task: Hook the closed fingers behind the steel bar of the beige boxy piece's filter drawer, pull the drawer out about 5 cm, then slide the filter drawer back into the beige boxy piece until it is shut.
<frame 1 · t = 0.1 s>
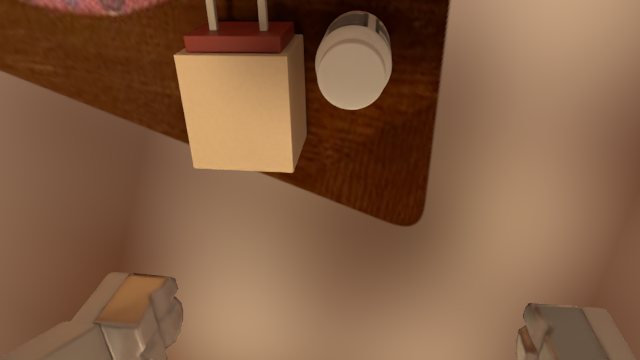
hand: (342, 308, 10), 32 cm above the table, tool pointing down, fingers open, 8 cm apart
filter drawer: (244, 52, 36), point 4 cm above the table, slide at 0.0 cm, touching beige boxy piece
pill bottle: (357, 43, 38), on the table
beige boxy piece: (259, 86, 41), on the table
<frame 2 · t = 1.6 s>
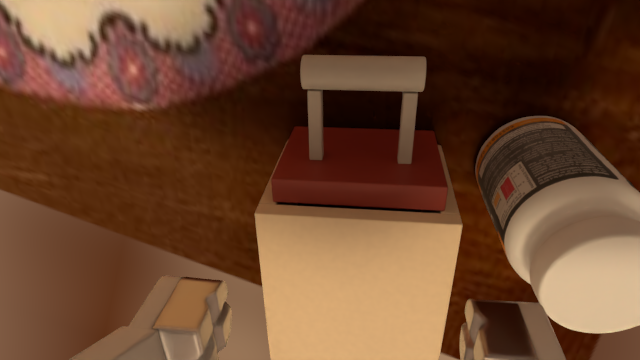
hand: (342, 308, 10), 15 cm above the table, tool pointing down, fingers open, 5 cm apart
filter drawer: (359, 186, 22), point 4 cm above the table, slide at 0.0 cm, touching beige boxy piece
pill bottle: (526, 158, 24), on the table
beige boxy piece: (360, 212, 27), on the table
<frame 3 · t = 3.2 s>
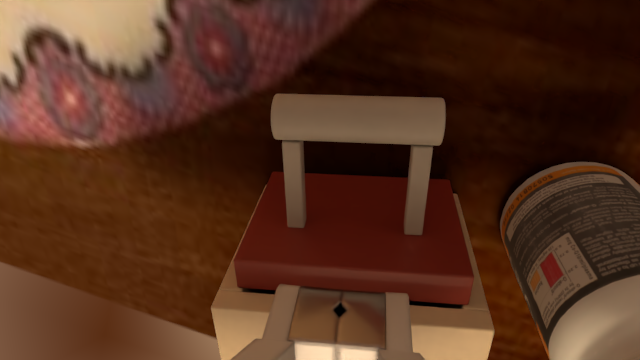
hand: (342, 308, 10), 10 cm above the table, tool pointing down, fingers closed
filter drawer: (354, 255, 17), point 4 cm above the table, slide at 0.0 cm, touching beige boxy piece
pill bottle: (564, 211, 19), on the table
beige boxy piece: (356, 269, 22), on the table
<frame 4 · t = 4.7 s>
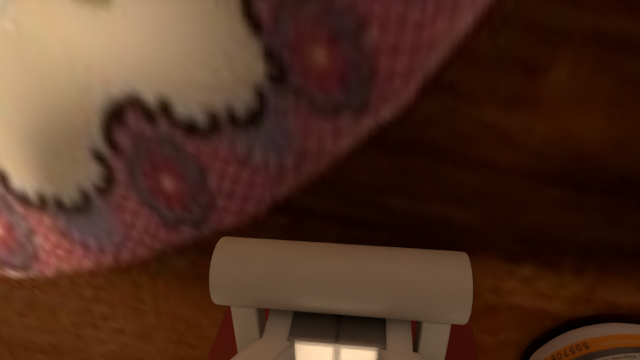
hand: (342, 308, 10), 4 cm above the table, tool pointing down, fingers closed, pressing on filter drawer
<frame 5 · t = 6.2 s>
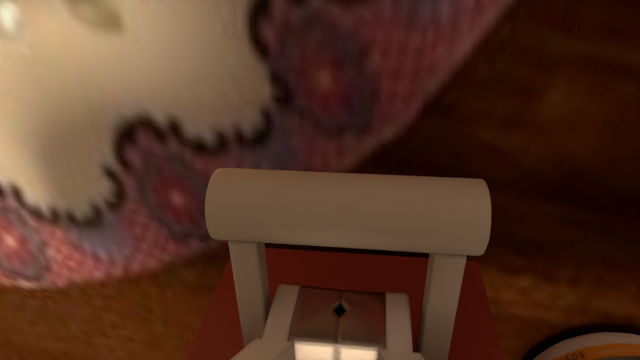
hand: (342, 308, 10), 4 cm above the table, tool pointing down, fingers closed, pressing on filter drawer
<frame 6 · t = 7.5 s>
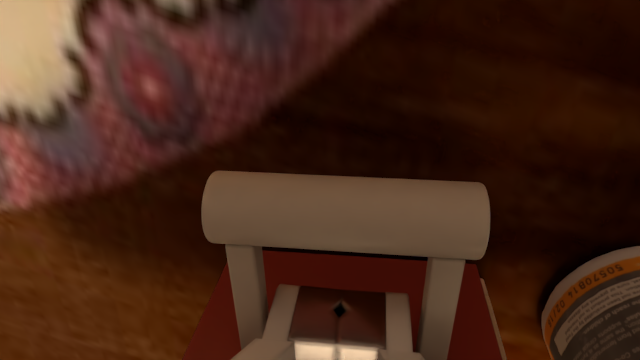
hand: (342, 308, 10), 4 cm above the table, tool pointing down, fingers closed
pill bottle: (628, 301, 14), on the table
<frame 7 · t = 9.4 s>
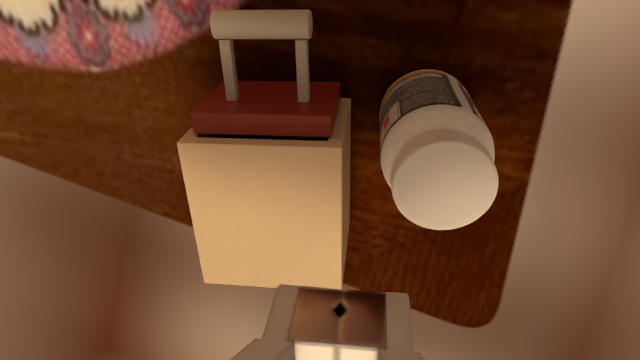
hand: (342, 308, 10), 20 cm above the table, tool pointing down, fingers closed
filter drawer: (273, 127, 26), point 4 cm above the table, slide at 0.1 cm
pill bottle: (424, 109, 28), on the table
beige boxy piece: (289, 161, 31), on the table
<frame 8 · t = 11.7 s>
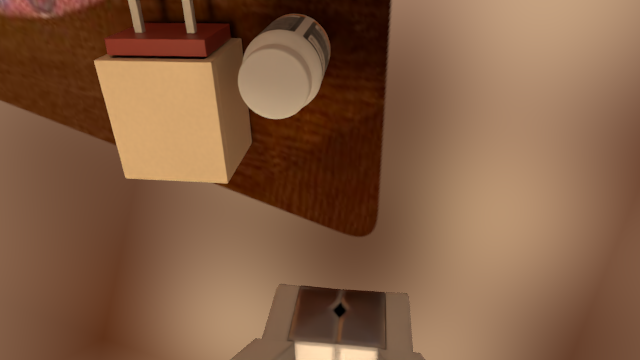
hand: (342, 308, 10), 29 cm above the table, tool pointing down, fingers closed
filter drawer: (174, 55, 34), point 4 cm above the table, slide at 0.1 cm
pill bottle: (298, 47, 37), on the table
beige boxy piece: (200, 92, 40), on the table
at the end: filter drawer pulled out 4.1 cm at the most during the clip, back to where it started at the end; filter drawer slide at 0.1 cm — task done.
